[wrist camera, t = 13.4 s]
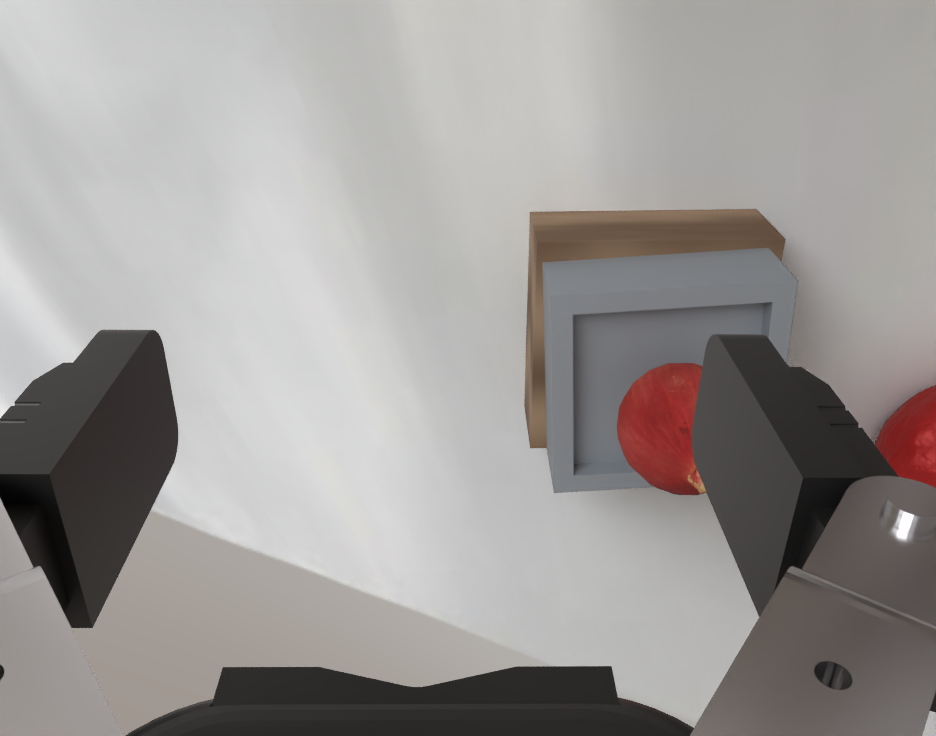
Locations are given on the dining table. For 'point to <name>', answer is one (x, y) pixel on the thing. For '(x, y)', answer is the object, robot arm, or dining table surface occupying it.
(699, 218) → the bottom block
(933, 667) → the robot arm
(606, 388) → the top block
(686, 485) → the onion
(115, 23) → the dining table surface
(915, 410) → the pomegranate
